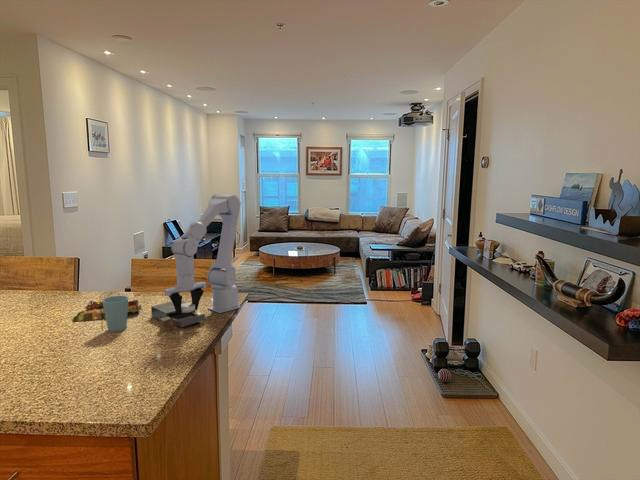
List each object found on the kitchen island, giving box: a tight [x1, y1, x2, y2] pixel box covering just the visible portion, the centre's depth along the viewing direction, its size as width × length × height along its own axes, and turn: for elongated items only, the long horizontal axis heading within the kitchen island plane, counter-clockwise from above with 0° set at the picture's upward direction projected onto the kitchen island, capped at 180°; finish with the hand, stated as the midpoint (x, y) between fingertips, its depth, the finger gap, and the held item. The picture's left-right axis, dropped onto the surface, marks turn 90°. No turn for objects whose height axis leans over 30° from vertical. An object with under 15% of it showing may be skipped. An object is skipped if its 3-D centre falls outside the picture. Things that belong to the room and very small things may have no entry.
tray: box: [169, 312, 206, 328], centre depth 141 cm, size 9×10×2 cm
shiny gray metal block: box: [150, 300, 196, 322], centre depth 146 cm, size 11×11×4 cm
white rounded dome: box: [181, 302, 196, 313], centre depth 140 cm, size 6×6×2 cm
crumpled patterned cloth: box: [73, 299, 142, 322], centre depth 151 cm, size 22×19×4 cm
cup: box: [101, 295, 129, 333], centre depth 134 cm, size 8×8×10 cm
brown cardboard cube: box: [158, 317, 174, 333], centre depth 134 cm, size 3×3×4 cm
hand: (187, 311), depth 140 cm, fingers closed on white rounded dome, 6 cm apart
